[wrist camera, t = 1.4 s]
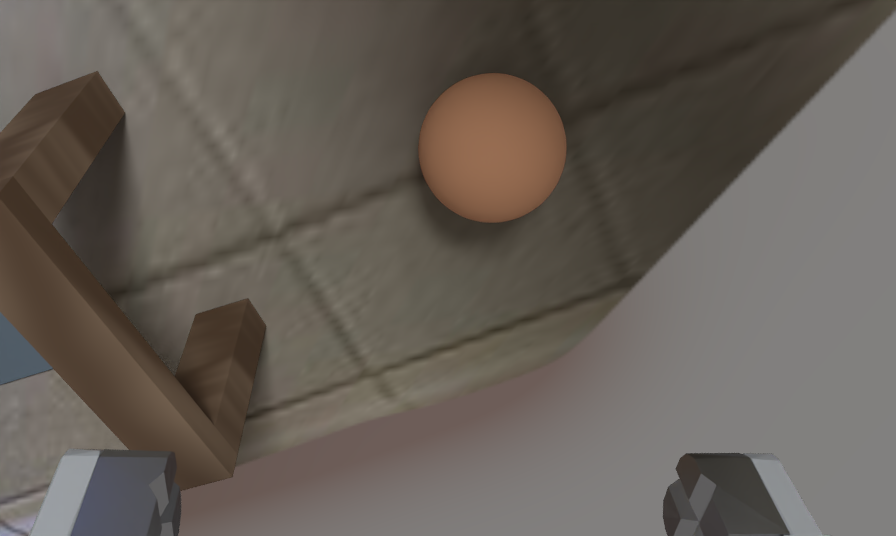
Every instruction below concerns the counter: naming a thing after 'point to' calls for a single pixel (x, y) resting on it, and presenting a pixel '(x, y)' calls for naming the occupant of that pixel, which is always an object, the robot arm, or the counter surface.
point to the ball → (492, 147)
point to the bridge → (95, 313)
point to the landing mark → (17, 354)
